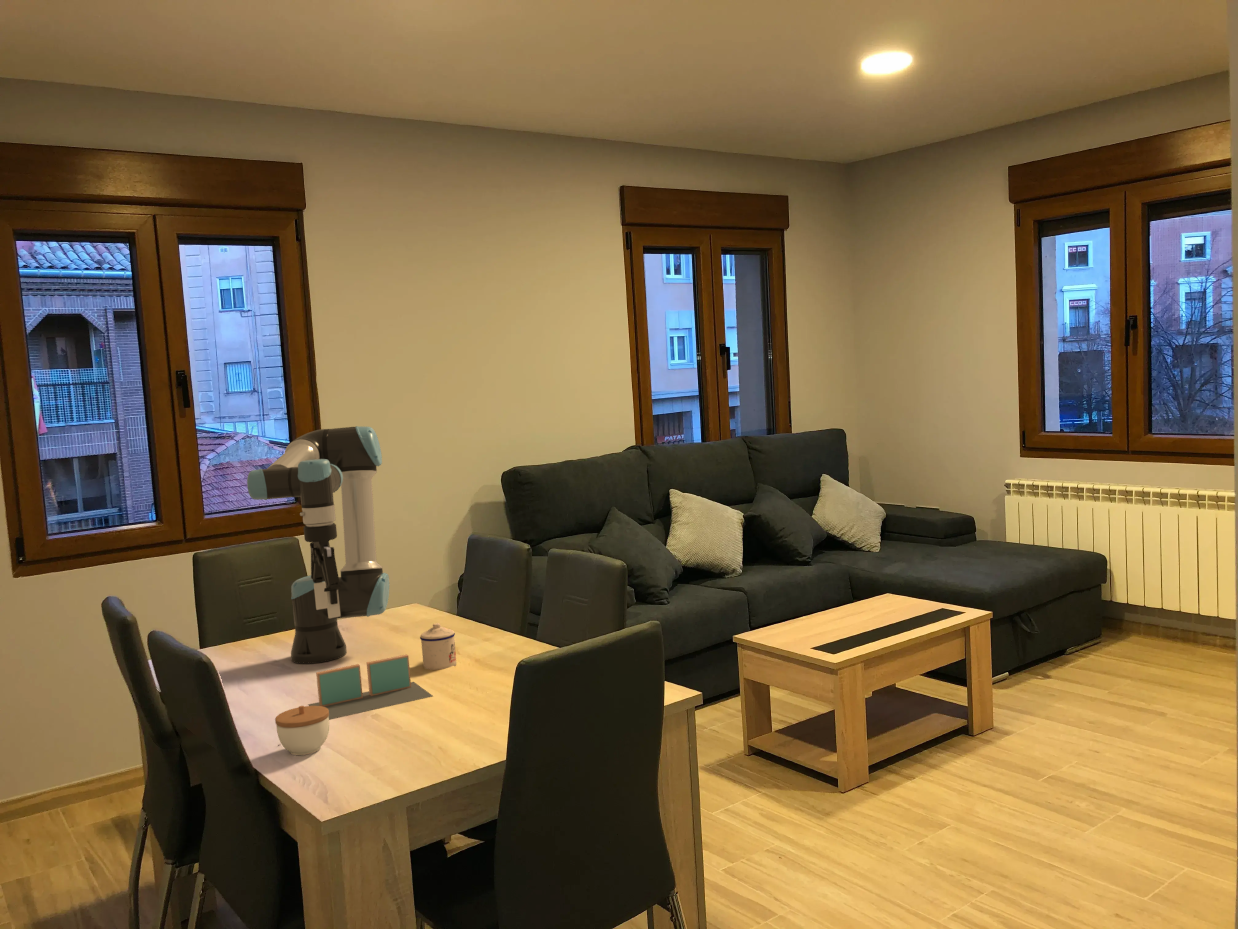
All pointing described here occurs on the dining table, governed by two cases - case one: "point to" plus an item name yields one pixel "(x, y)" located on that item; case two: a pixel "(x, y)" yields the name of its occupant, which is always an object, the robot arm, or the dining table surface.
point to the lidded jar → (303, 729)
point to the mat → (376, 701)
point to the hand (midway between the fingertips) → (328, 612)
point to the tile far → (388, 675)
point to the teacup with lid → (438, 648)
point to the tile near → (339, 685)
